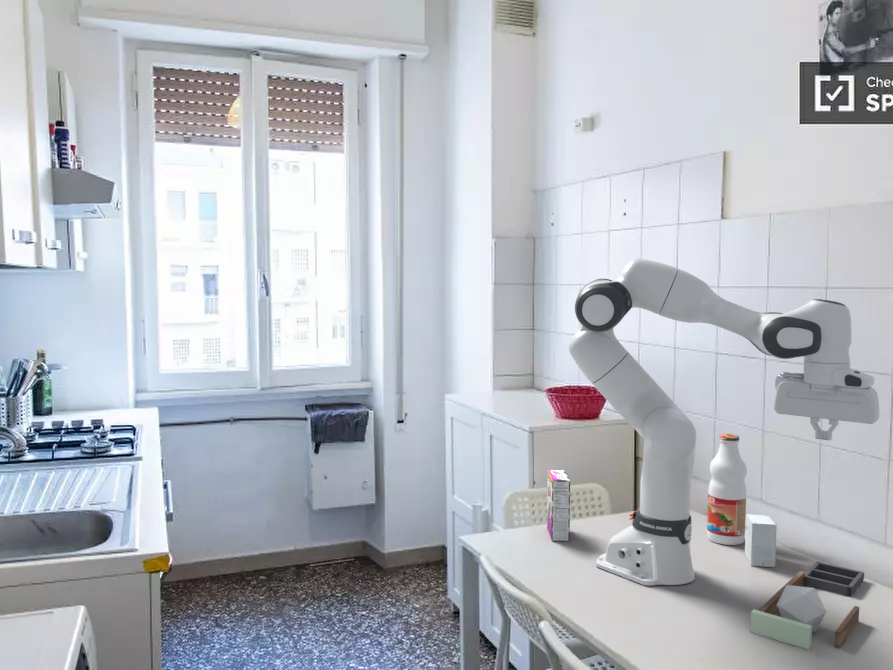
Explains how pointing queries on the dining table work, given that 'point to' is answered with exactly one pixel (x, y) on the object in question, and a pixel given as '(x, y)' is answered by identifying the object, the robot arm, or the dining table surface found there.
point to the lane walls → (798, 580)
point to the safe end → (781, 629)
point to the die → (801, 606)
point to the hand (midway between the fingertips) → (823, 439)
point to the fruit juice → (727, 494)
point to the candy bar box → (558, 505)
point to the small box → (760, 540)
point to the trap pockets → (833, 578)
